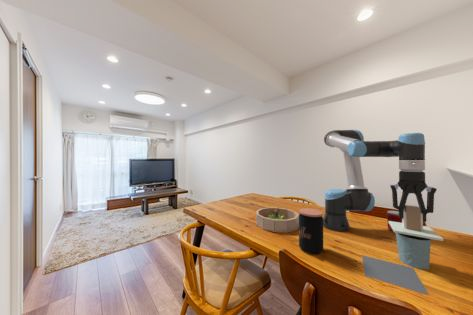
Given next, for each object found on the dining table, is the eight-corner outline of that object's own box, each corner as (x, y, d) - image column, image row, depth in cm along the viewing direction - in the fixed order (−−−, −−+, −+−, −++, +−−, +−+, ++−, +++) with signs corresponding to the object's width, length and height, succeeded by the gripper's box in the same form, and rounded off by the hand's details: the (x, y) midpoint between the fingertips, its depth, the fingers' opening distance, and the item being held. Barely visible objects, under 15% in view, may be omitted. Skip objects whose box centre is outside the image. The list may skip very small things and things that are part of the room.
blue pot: (436, 275, 63) (436, 242, 63) (399, 266, 68) (399, 236, 68) (425, 261, 71) (424, 232, 72) (393, 254, 77) (392, 227, 77)
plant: (257, 228, 107) (257, 210, 107) (265, 218, 125) (265, 203, 125) (290, 233, 99) (290, 214, 99) (293, 222, 116) (293, 206, 116)
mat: (364, 277, 62) (364, 275, 62) (362, 256, 75) (362, 255, 75) (429, 297, 53) (429, 295, 53) (413, 269, 66) (412, 267, 66)
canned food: (409, 234, 97) (409, 215, 98) (393, 233, 99) (393, 214, 99) (399, 228, 105) (399, 211, 105) (384, 227, 107) (384, 210, 107)
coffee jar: (295, 244, 86) (295, 208, 86) (315, 243, 87) (315, 207, 87) (305, 256, 75) (305, 215, 76) (328, 254, 76) (328, 214, 76)
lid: (394, 232, 68) (394, 207, 68) (388, 222, 79) (388, 201, 79) (443, 241, 61) (442, 213, 61) (429, 228, 72) (428, 205, 72)
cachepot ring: (249, 225, 109) (249, 214, 110) (266, 214, 132) (266, 205, 132) (291, 236, 94) (291, 223, 95) (302, 221, 117) (302, 211, 117)
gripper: (385, 170, 72) (386, 226, 72) (447, 172, 62) (448, 236, 62) (383, 169, 78) (383, 220, 78) (438, 171, 69) (439, 229, 68)
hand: (412, 227), depth 70 cm, fingers closed on lid, 4 cm apart
